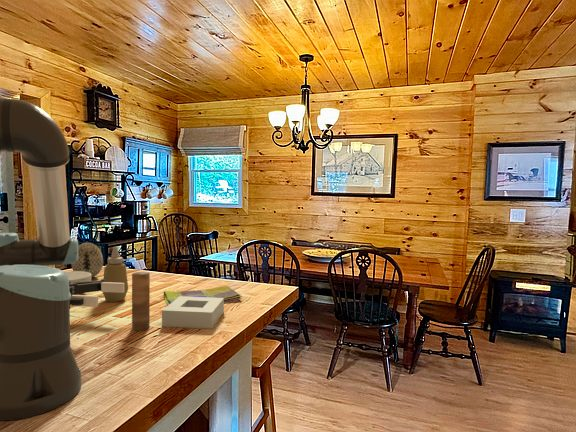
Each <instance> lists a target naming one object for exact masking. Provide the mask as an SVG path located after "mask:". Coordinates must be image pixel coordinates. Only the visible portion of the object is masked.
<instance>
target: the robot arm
mask: <svg viewBox="0 0 576 432" xmlns="http://www.w3.org/2000/svg"><path fill="white" fill-rule="evenodd" d="M69 150H70V148H69V145H68V142H67V139H66V136H65V135H64V133H63V131H62V129H61V128H60V126H59V125H58V124H57V122H56V121H55V120H54V119H53V117H51V116H50V115H49V114H48V113H47V112H46V111H44V110H43V109H42V108H40V107H39V106H37V105H35V104H33V103H32V102H29V101H26V100H23V99H17V98H6V97H5V98H4V97H0V154H1V152H4V153H5V152H7V153H20V154H21V158H22V159H21V160H22V162H23V163H24V164H25V165H27V167H28V171H29V173H28V174H29V181H30V187H31V196H32V202H33V209H34V217H35V225H36V231H37V239H33V238H32V239H20V238H19V234H18V233H17V232H0V421H13V420H20V419H21V420H22V419H26V418H30V417H34V416H38V415H41V414H45V413H46V412H49V411H52V410H55V409H56V408H57V409H58V407H61V406H62V405H64V404H66V403H68V402H70V401H71V400H72V399H73V398H75V396H76V395H77V394H79V392H80V390H81V389H82V373H81V369H80V368H79V366H78V362H77V361H76V358H75V354H74V352H73V350H72V348H71V319H70V318H71V317H70V315H71V314H70V310H71V307H83V308H84V307H86V308H97V307H98V308H99V295H87V294H86V293H92V292H93V293H96V292H101V293H103V292H116V293H124V283H112V282H105V280H104V279H103V278H100V279H99V280H91V281H83V282H69V279H68V276H67V274H66V273H65V272H66V271H64V270H62V269H59V268H57V267H53V266H59V265H60V266H62V265H71V264H72V263H76V262H77V261H78V246H79V240H78V239H77V238H74V237H73V238H72V237H71V235H70V222H69V206H68V205H69V204H68V191H67V177H66V176H67V174H66V165H67V164H68V163H69V162H70V151H69ZM73 291H74V293H73ZM83 294H84V295H83ZM85 294H86V295H85Z"/></svg>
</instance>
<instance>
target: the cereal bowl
mask: <svg viewBox="0 0 576 432" xmlns="http://www.w3.org/2000/svg"><path fill="white" fill-rule="evenodd" d="M64 272H65V273H66V274H67V276H68V279H69V282H83V281H92V278H93V277H92V276H91V273H89V272H84V271H73V270H72V271H68V270H67V271H64ZM91 277H92V278H91ZM73 293H74V291H73Z"/></svg>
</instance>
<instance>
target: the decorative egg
mask: <svg viewBox="0 0 576 432" xmlns="http://www.w3.org/2000/svg"><path fill="white" fill-rule="evenodd" d="M70 266H71V269H72V271H84V272H89V273H91V276H92V277H91V279H92V278H94V277H97V275H99V274H100V272H101V270H102V269H103V266H104V257H103V253H102V251H101V249H100V248H99V247H98V246H97V244H94V243H92V242H83V243H81V244H78V261H77V262H76V263H72V264H70Z"/></svg>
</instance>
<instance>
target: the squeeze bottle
mask: <svg viewBox="0 0 576 432" xmlns="http://www.w3.org/2000/svg"><path fill="white" fill-rule="evenodd" d="M119 253H120V252H119V249H118V247H117V246H113V247H112V252H111V255H110V257H108V258H107V264H105V266H104V270H103V278H102V279H104V280H105V282H112V283H124V293H116V292H102V294H103V297H104V299H105V301H106V302H108V303H115V302H116V303H117V302H121V301H124V300H125V299H126V296H127V293H128V290H129V284H128V283H129V282H128V274H127V266H126V264H125V263H123V262H124V257H122V256H120V254H119Z"/></svg>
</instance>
